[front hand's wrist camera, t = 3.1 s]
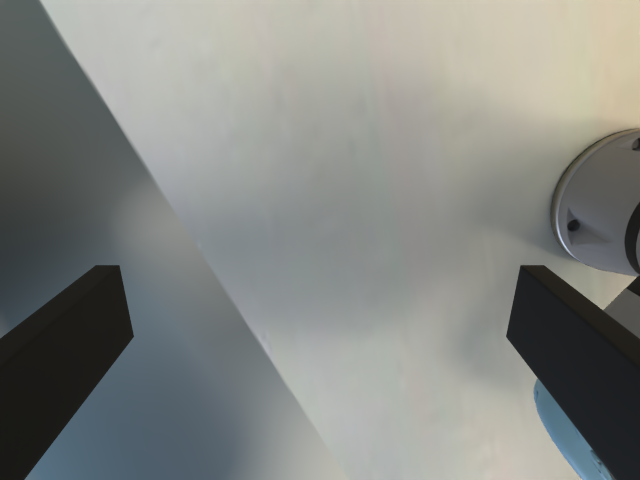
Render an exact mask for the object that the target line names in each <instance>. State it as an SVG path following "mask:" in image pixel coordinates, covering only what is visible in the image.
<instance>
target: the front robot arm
mask: <svg viewBox="0 0 640 480" xmlns="http://www.w3.org/2000/svg"><path fill="white" fill-rule="evenodd" d="M551 224H552V229H553V233H554V235H555V237H556V239H557V241H558V243H559V244H560V246H561V247H562V248H563V249H564V250H565V251H566V252H567V253H568V254H569V255H571V256H572V257H574V258H575V259H577V260H579V261H580V262H582V263H584V264H586V265H588V266H591V267H593V268H596V269H599V270H603V271H608V272H614V273H619V274H625V275H631V276H636V277H637V278H636V279H635V280H634V281H633V282H632V283H631V284H630V285H629V286H628V287H626V288H625V289H624V290H623V291H622V292H621V293H620V294H619V295H618V296H617V297H616V298H615V299H614V300H613V301H612V302H611V303H610V304H609V305H608V306H607V307H606V308H605V309H604V310H602V309H600V308H599V307H598V306H596V305H595V304H594V303H592V302H591V301H590V300H589V299H587V298H586V297H585V296H583V295H582V294H581V293H579V292H578V291H577V290H576V289H574V288H573V287H572V286H570V285H569V284H568V283H566V282H565V281H564V280H562V279H561V278H560V277H559V276H557V275H556V274H555V273H553V272H552V271H551V270H549V269H548V268H547V267H546V266H544V265H521V266H520V271H519V276H518V281H517V286H516V291H515V296H514V301H513V306H512V310H511V315H510V320H509V325H508V330H507V335H506V337H507V338H508V340H509V341H510V342H511V344H512V345H513V346H514V348H515V349H516V350H517V351H518V353H519V354H520V355H521V357H522V358H523V359H524V361H525V362H526V363H527V365H528V366H529V367H530V368H531V370H532V371H533V372H534V374H535V375H536V376H537V378H538V379H537V381H536V383H535V386H534V399H535V403H536V407H537V411H538V414H539V416H540V418H541V421H542V423H543V425H544V426H545V428H546V430H547V432H548V433H549V435H550V437H551V438H552V440H553V442H554V443H555V445H556V446H557V448H558V449H559V450H560V452H561V453H562V455H563V456H564V457H565V459H566V460H567V461H568V463H569V464H570V465H571V466H572V468H573V469H574V470H575V471H576V473H577V474H578V475H579V476H580V477H581V478H582V479H583V480H640V129H633V130H627V131H623V132H619V133H616V134H613V135H611V136H609V137H606V138H604V139H602V140H601V141H599V142H597V143H595V144H594V145H592V146H591V147H590V148H588V149H587V150H586V151H584V152H583V153H582V154H581V155H580V156H579V157H578V158H577V159H576V160H575V161H574V162H573V163H572V164H571V165H570V167H569V168H568V169H567V171H566V172H565V173H564V175H563V177H562V178H561V180H560V182H559V184H558V186H557V188H556V191H555V194H554V197H553V201H552V206H551ZM133 337H134V335H133V330H132V325H131V320H130V315H129V310H128V306H127V301H126V296H125V291H124V286H123V281H122V276H121V271H120V266H119V265H96V266H95V267H93V268H92V269H91V270H89V271H88V272H87V273H85V274H84V275H83V276H81V277H80V278H79V279H78V280H76V281H75V282H74V283H72V284H71V285H70V286H68V287H67V288H66V289H64V290H63V291H62V292H61V293H59V294H58V295H57V296H55V297H54V298H53V299H51V300H50V301H49V302H48V303H46V304H45V305H44V306H42V307H41V308H40V309H38V310H37V311H36V312H34V313H33V314H32V315H31V316H29V317H28V318H27V319H25V320H24V321H23V322H21V323H20V324H19V325H17V326H16V327H15V328H14V329H12V330H11V331H10V332H8V333H7V334H6V335H4V336H3V337H2V338H1V339H0V480H24V479H25V478H26V477H27V475H28V474H29V473H30V471H31V470H32V469H33V468H34V466H35V465H36V464H37V462H38V461H39V460H40V459H41V457H42V456H43V455H44V453H45V452H46V451H47V449H48V448H49V447H50V445H51V444H52V443H53V441H54V440H55V439H56V438H57V436H58V435H59V434H60V432H61V431H62V430H63V428H64V427H65V426H66V425H67V423H68V422H69V421H70V419H71V418H72V417H73V415H74V414H75V413H76V412H77V410H78V409H79V408H80V406H81V405H82V404H83V402H84V401H85V400H86V398H87V397H88V396H89V395H90V393H91V392H92V391H93V389H94V388H95V387H96V385H97V384H98V383H99V381H100V380H101V379H102V378H103V376H104V375H105V374H106V372H107V371H108V370H109V368H110V367H111V366H112V364H113V363H114V362H115V361H116V359H117V358H118V357H119V355H120V354H121V353H122V351H123V350H124V349H125V348H126V346H127V345H128V344H129V342H130V341H131V340H132V338H133Z"/></svg>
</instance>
